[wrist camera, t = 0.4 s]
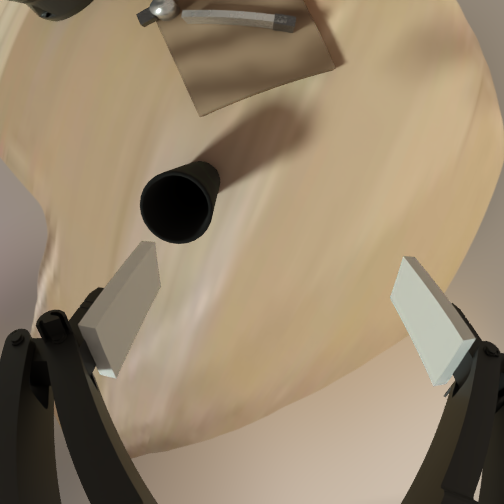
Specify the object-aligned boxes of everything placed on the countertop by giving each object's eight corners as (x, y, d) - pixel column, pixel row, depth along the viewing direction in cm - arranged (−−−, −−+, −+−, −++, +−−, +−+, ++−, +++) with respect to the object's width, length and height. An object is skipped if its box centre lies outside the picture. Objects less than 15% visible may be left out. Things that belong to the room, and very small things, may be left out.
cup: (205, 142, 36) (180, 155, 25) (238, 187, 38) (228, 218, 28) (163, 175, 38) (126, 201, 27) (195, 217, 41) (170, 256, 30)
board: (155, 13, 27) (150, 9, 25) (278, -34, 23) (278, -40, 21) (202, 116, 34) (199, 116, 32) (332, 70, 30) (335, 68, 29)
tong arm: (189, 16, 26) (182, 8, 23) (294, 24, 26) (296, 16, 23) (187, 25, 26) (180, 18, 24) (292, 33, 27) (294, 26, 24)
